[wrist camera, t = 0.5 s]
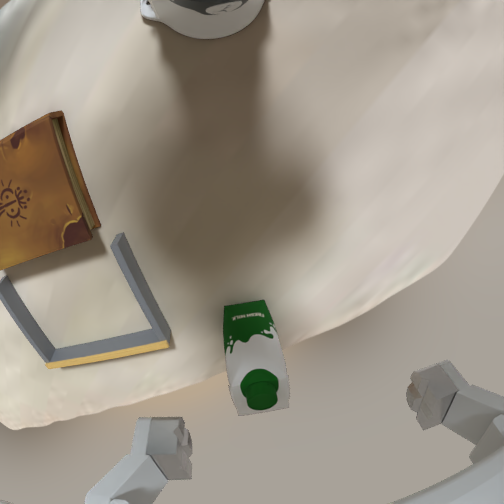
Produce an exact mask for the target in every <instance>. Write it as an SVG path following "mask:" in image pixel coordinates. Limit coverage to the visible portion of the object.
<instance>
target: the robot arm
mask: <svg viewBox="0 0 504 504" xmlns="http://www.w3.org/2000/svg"><path fill="white" fill-rule="evenodd" d="M264 1H265V0H140V11H141V14H142V16H143V17H144V18H146V19H149V20H154V21H159V22H163V23H165V24H166V25H168V26H169V27H170V28H172V29H173V30H175V31H177V32H178V33H181V34H183V35H185V36H189V37H193V38H198V39H215V38H221V37H225V36H228V35H231V34H234V33H236V32H238V31H240V30H242V29H243V28H245V27H246V26H247V25H249V24H250V23H251V22H252V21H253V20H254V19H255V17H256V16H257V15H258V13H259V11H260V9H261V7H262V5H263V3H264ZM147 2H149V3H150V5H147ZM410 379H411V381H412V383H411V384H410V385H409V387H408V389H407V392H406V397H407V402H408V405H409V407H410V408H411V410H413V411H415V412H417V416H416V419H417V420H418V422H419V424H420V426H421V427H422V429H423V430H426V429H428V428H431V427H434V426H436V425H438V424H441V423H442V425H444V426H445V427H447V428H449V429H450V430H452V431H454V432H455V433H457V434H459V435H461V436H462V437H464V438H465V439H467V440H469V441H470V442H472V443H474V444H475V445H476V446H475V448H474V449H473V450H472V452H471V453H470V456H469V458H470V459H471V461H472V463H473V465H471V466H469V467H467V468H466V469H464V470H462V471H460V472H458V473H456V474H455V475H453V476H451V477H449V478H447V479H445V480H443V481H441V482H439V483H436V484H435V485H432V486H430V487H428V488H426V489H424V490H421V491H419V492H417V493H414V494H412V495H409V496H407V497H405V498H402V499H399V500H397V501H394V502H392V503H389V504H504V397H503V396H500V395H498V394H495V393H493V392H490V391H487V390H485V389H482V388H480V387H477V386H475V385H471V386H470V385H469V384H468V383H467V381H466V380H465V379H464V378H463V377H462V375H461V374H460V373H459V372H458V370H457V369H456V368H455V367H454V365H453V364H452V363H451V362H450V361H449V360H444V361H442V362H439V363H436V364H433V365H430V366H428V367H425V368H422V369H419V370H417V371H414V372H413V373H412V375H411V378H410ZM184 424H185V422H184V420H183V418H182V417H139V418H138V420H137V422H136V427H135V433H134V438H133V442H132V448H131V453H130V455H125V456H124V457H123V458H122V460H120V461H119V462H118V464H116V466H115V467H114V468H112V470H110V471H109V472H108V473H107V474H106V475H105V476H104V477H103V478H102V479H101V480H100V481H99V482H98V483H97V484H96V485H95V486H94V487H93V488H92V489H91V490H90V491H89V492H88V493H87V494H86V499H85V503H84V504H152V503H153V502H154V501H155V499H156V498H157V496H158V495H159V494H160V492H161V491H162V489H163V488H164V487H165V485H166V484H167V482H168V480H184V479H191V477H192V475H191V474H192V463H191V461H190V460H189V457H190V456H191V454H192V440H191V436H190V433H189V431H188V430H187V429H186V428H184V426H185V425H184ZM0 504H12V503H10V502H7V501H4V500H0Z"/></svg>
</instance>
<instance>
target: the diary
mask: <svg viewBox="0 0 504 504" xmlns="http://www.w3.org/2000/svg"><path fill="white" fill-rule="evenodd" d="M100 226H101V224H100V221H99V219H98V216H97V214H96V211H95V208H94V206H93V203H92V200H91V198H90V195H89V192H88V189H87V187H86V184H85V181H84V178H83V175H82V172H81V169H80V166H79V163H78V160H77V157H76V154H75V151H74V148H73V144H72V141H71V138H70V134H69V131H68V128H67V124H66V120H65V117H64V113H63V112H62V111H56V112H51V113H48V114H46V115H44V116H43V117H41V118H39V119H37V120H35V121H33V122H31V123H29V124H28V125H26V126H24V127H22V128H20V129H19V130H17V131H15V132H14V133H12V134H10V135H9V136H7V137H5V138H4V139H2V140H0V270H3V269H6V268H8V267H11V266H14V265H17V264H20V263H22V262H25V261H28V260H31V259H34V258H37V257H40V256H43V255H46V254H48V253H51V252H54V251H57V250H60V249H63V248H67V247H70V246H73V245H76V244H79V243H82V242H85V241H88V240H91V239H92V237H93V236H92V234H91V231H90V230H91V229H94V228H97V227H100Z"/></svg>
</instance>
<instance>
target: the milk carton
mask: <svg viewBox="0 0 504 504" xmlns="http://www.w3.org/2000/svg"><path fill="white" fill-rule="evenodd" d="M223 337H224V349H225V359H226V369H227V376H228V381H229V384H230V386H229V391H230V394H231V397H232V400H233V403H234V405H235V407H236V409H237V412H238V415H239V416H244V415H250V414H256V413H262V412H268V411H274V410H279V409H284V408H288V407H289V396H290V395H289V394H290V392H289V377H288V375H287V370H286V363H285V359H284V356H283V352H282V349H281V345H280V342H279V338H278V335H277V331H276V328H275V325H274V322H273V320H272V317H271V315H270V313H269V310H268V308H267V306H266V303H265V301H264V300H260V301H254V302H248V303H241V304H235V305H229V306H224V323H223Z"/></svg>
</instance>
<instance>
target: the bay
mask: <svg viewBox="0 0 504 504" xmlns="http://www.w3.org/2000/svg"><path fill="white" fill-rule="evenodd" d="M110 247H111V249H112V251H113V254H114V256H115V258H116V260H117V262H118V264H119V266H120V268H121V270H122V272H123V274H124V276H125V278H126V280H127V282H128V284H129V286H130V288H131V290H132V292H133V294H134V295H135V297H136V299H137V301H138V303H139V305H140V307H141V308H142V310H143V312H144V314H145V316H146V318H147V319H148V321H149V323H150V325H151V326H152V328H153V329H149V330H145V331H140V332H136V333H131V334H127V335H122V336H118V337H113V338H109V339H104V340H99V341H94V342H90V343H85V344H80V345H75V346H70V347H64V348H59V349H55V348H54V347H53V345H52V344H51V342H50V341H49V340H48V338H47V337H46V336H45V334H44V333H43V331H42V330H41V329H40V327H39V326H38V324H37V323H36V321H35V320H34V318H33V317H32V315H31V314H30V312H29V311H28V309H27V308H26V306H25V305H24V303H23V301H22V300H21V298H20V297H19V295H18V293H17V292H16V290H15V288H14V287H13V285H12V283H11V282H10V280H9V278H8V276H7V275H6V276H4V277H3V278H2V279H1V280H0V300H1V301H2V303H3V304H4V306H5V307H6V309H7V310H8V312H9V313H10V315H11V316H12V318H13V319H14V321H15V322H16V324H17V325H18V327H19V328H20V330H21V331H22V332H23V334H24V335H25V336H26V338H27V339H28V341H29V342H30V343H31V345H32V346H33V347H34V348H35V350H36V351H37V352H38V354H39V355H40V356H41V357H42V359H43V360H44V361H45V362H46V364H45V366H46V367H47V368H48V369H53V368H60V367H66V366H73V365H79V364H85V363H91V362H97V361H103V360H108V359H114V358H119V357H124V356H129V355H134V354H139V353H144V352H149V351H154V350H159V349H163V348H168V347H169V343H170V332H171V329H170V327H169V325H168V324H167V322H166V320H165V318H164V316H163V314H162V312H161V310H160V308H159V306H158V304H157V302H156V300H155V298H154V296H153V294H152V292H151V290H150V288H149V286H148V284H147V282H146V280H145V278H144V276H143V274H142V272H141V270H140V268H139V266H138V263H137V261H136V259H135V257H134V255H133V253H132V250H131V248H130V246H129V244H128V241H127V239H126V237H125V235H124V232H123V233H120V234H117V235H116V237H115V239H114V240H113V242H112V244H111V246H110Z"/></svg>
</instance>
